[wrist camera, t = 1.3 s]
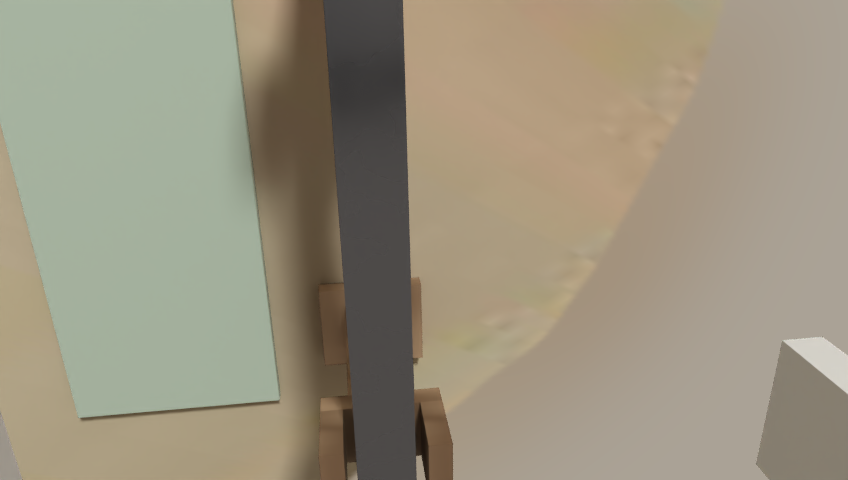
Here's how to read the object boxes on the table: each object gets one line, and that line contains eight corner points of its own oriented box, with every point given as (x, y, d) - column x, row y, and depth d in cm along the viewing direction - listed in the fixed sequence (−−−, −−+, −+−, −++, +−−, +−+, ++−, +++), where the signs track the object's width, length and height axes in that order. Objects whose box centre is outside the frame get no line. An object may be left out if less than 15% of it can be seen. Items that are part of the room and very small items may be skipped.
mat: (81, 411, 40) (78, 417, 40) (-94, -261, 27) (-103, -266, 27) (280, 394, 41) (279, 400, 41) (201, -256, 29) (199, -261, 28)
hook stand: (325, 356, 41) (320, 532, 28) (277, -189, 30) (232, -313, 17) (420, 348, 41) (458, 516, 29) (407, -188, 31) (460, -307, 18)
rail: (359, 486, 31) (361, 527, 29) (304, -292, 20) (300, -326, 17) (411, 481, 31) (417, 521, 29) (386, -290, 20) (393, -324, 18)
